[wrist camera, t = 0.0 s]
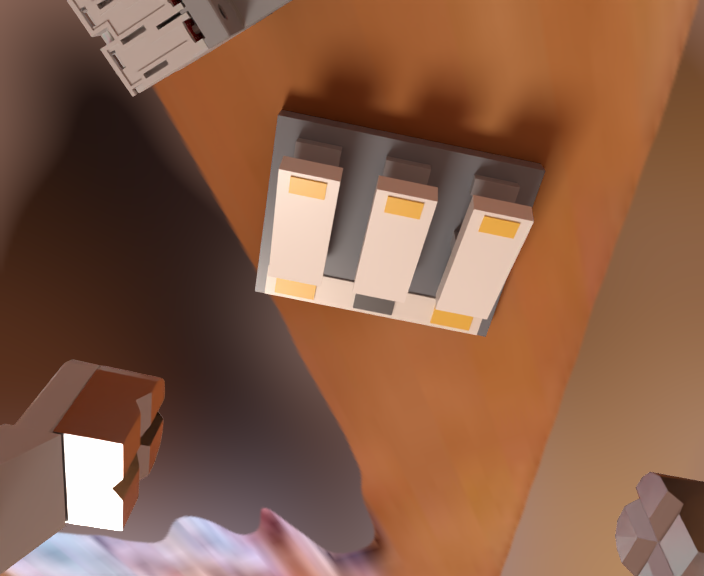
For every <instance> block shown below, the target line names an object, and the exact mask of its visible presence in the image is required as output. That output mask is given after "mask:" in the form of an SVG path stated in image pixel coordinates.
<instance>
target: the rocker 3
mask: <svg viewBox="0 0 704 576" xmlns="http://www.w3.org/2000/svg"><path fill="white" fill-rule="evenodd" d="M533 222H534V219H533V213H532V207H530V206H525V205H520V204H516V203H511V202H506V201H501V200H496V199H491V198H486V197H482V196H477V195H473V196H472V199H471V202H470V204H469V207H468V210H467V212H466V215H465V218H464V220H463V223H462V226H461V228H460V231H459V234H458V236H457V239H456V242H455V244H454V247H453V250H452V252H451V255H450V258H449V260H448V263H447V266H446V268H445V271H444V274H443V276H442V279H441V282H440V284H439V287H438V290H437V292H436V304H435V309H436V310H441V311H446V312H451V313H456V314H461V315H466V316H471V317H476V318H481V319H487V318H488V316H489V314H490V312H491V310H492V308H493V306H494V304H495V302H496V300H497V298H498V295H499V293H500V291H501V289H502V287H503V285H504V283H505V281H506V279H507V277H508V275H509V272H510V270H511V268H512V266H513V264H514V262H515V260H516V258H517V256H518V254H519V252H520V249H521V247H522V245H523V243H524V241H525V239H526V237H527V235H528V233H529V231H530V229H531V226H532V224H533Z"/></svg>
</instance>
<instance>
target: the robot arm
mask: <svg viewBox="0 0 704 576" xmlns="http://www.w3.org/2000/svg"><path fill="white" fill-rule="evenodd" d="M164 393H165V382H164V380H163V379H162V378H159V377H154V376H149V375H144V374H140V373H135V372H131V371H126V370H121V369H116V368H112V367H107V366H99V365H95V364H91V363H86V362H81V361H77V360H70V361H68V362H66V363H65V364H63V365H62V367H61V368H60V369H59V370H58V372H57V373H56V374H55V375H54V377H53V378H52V379H51V381H50V382H49V383H48V384H47V385H46V387H45V388H44V389H43V390H42V392H41V393H40V394H39V395H38V397H37V398H36V399H35V400H34V401H33V403H32V404H31V405H30V406H29V408H28V409H27V410H26V412H25V413H24V414H23V415H22V416H21V418H20V419H19V420H18V421H17V423H16V424H15V425H8V424H3V425H1V426H0V574H1V573H3V572H4V571H6V570H7V569H8V568H10V567H11V566H12V565H14V564H15V563H16V562H18V561H19V560H20V559H22V558H23V557H25V556H26V555H27V554H29V553H30V552H31V551H33V550H34V549H35V548H37V547H38V546H39V545H41V544H42V543H43V542H45V541H46V540H48V539H49V538H50V537H52V536H53V535H54V534H56V533H57V532H58V531H60V530H61V529H62V528H64V527H65V526H66V523H72V524H79V525H86V526H92V527H98V528H105V529H112V530H118V531H122V530H123V528H124V526H125V524H126V522H127V520H128V518H129V516H130V514H131V511H132V509H133V507H134V505H135V503H136V501H137V499H138V495H139V481H140V480H142V479H143V478H145V477H146V476H148V475H149V473H150V471H151V469H152V467H153V464H154V462H155V459H156V456H157V453H158V449H159V446H160V442H161V436H162V431H163V418H162V416H161V415H160V414H159V412H158V409H159V408H160V406H161V404H162V402H163V400H164V395H165V394H164ZM636 490H637V493H638V496H639V499H637V500H635V501H633V502H632V503H630V504H628V505H626V506H625V507H624V509H623V511H622V513H621V515H620V516H619V518H618V521H617V528H616V535H615V537H616V545H617V551H618V553H619V556H620V559H621V562H622V564H623V565H624V566H625V567H626V568H627V569H628V570H629V571H630V572H631V573H632V574H633V575H634V576H704V482H703V481H697V480H691V479H687V478H681V477H676V476H670V475H665V474H659V473H654V472H649V473H648V474H646V475H645V476H643V477H642V478H641V480H640V482H639V483H638V485H637V487H636Z"/></svg>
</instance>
